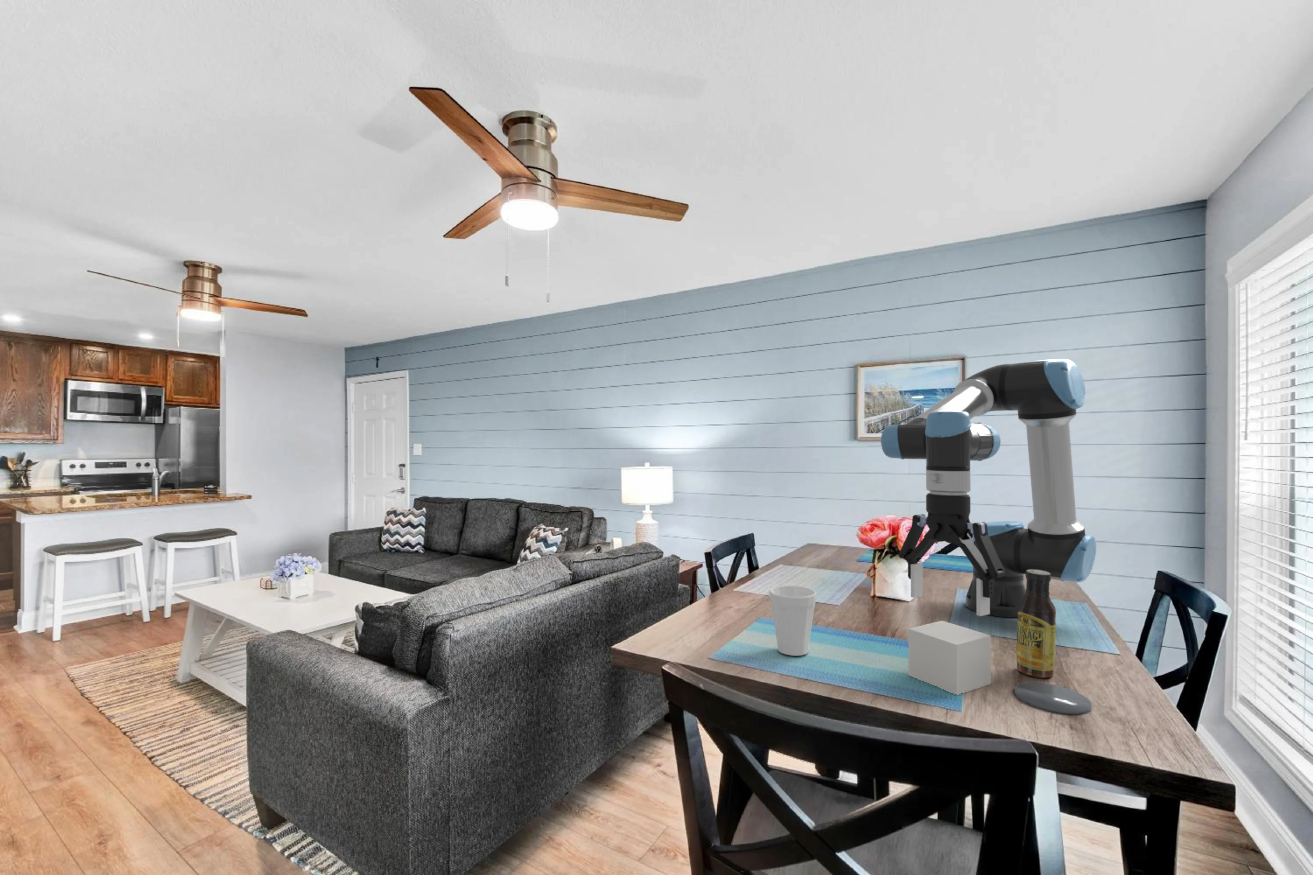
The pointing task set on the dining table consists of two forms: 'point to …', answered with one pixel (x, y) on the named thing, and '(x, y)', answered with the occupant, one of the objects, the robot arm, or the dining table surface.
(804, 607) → the cup
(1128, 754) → the dining table surface
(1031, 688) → the dark grey disc
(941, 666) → the white block
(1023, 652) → the sauce bottle
